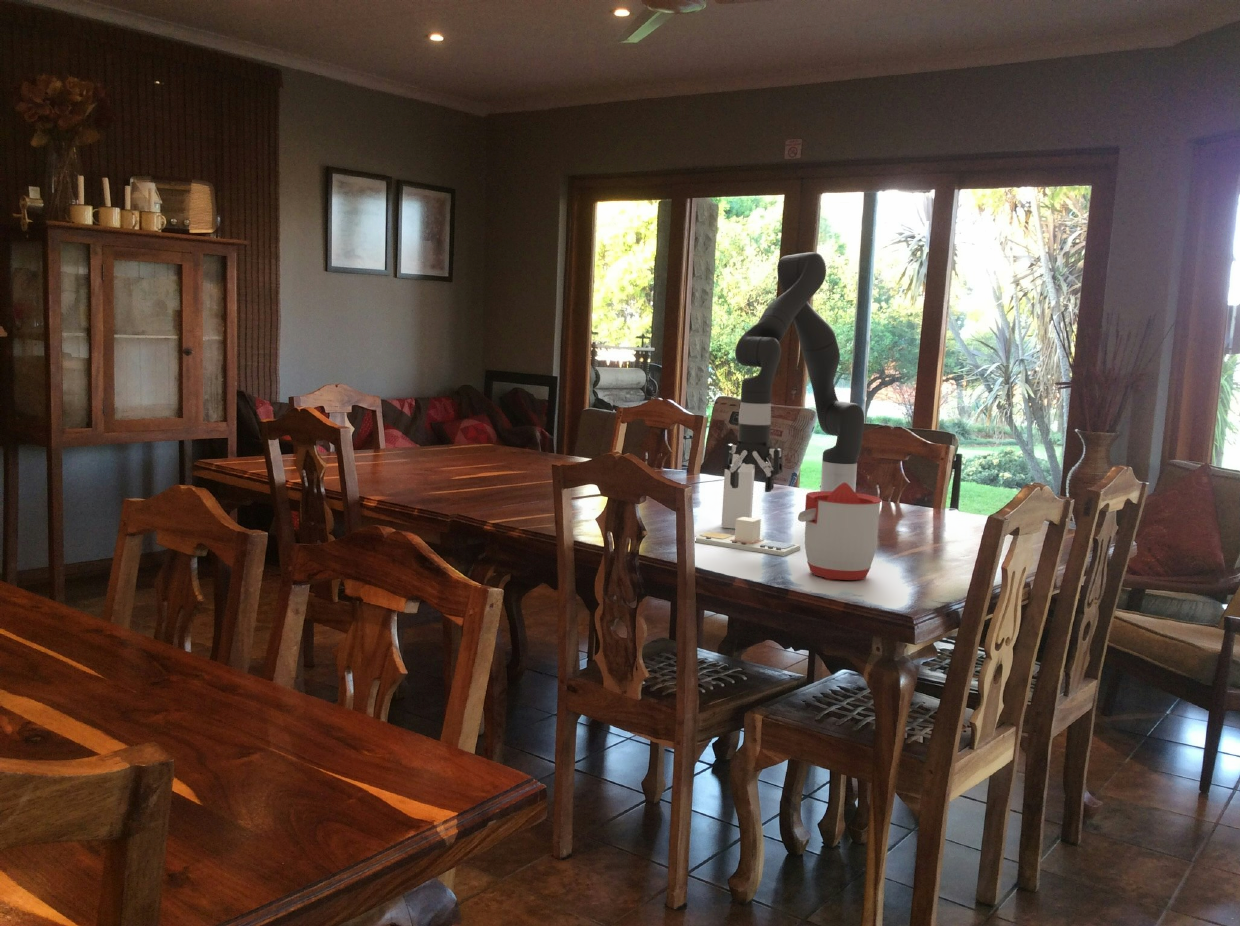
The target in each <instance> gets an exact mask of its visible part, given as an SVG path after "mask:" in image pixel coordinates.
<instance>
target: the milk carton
mask: <svg viewBox="0 0 1240 926" xmlns="http://www.w3.org/2000/svg"><path fill="white" fill-rule="evenodd" d="M738 457H739V455H738V453H737V454H736V453H733V459H732V465H733V464H734V462H735V461H736V460H737V458H738ZM755 466H756V465H752V464H745V463H744V465H742V466H741V468H740V469H739V470H738V472H739V483H738V488H732V486H731V485H730V475H731V473H730V471H729V470H727V469H724V475H723V476H724V479H723V494H722V496H723V497H722V513H721V528H724V529H734V530H735V525H736V519H738V518H741V517H749V518H753V517H752V516H753V514H752V513H753V504H754V503H753V501H754V488H755V487H754V485H755V484H754V483H755V470H756V469H755V468H756V467H755Z"/></svg>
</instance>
